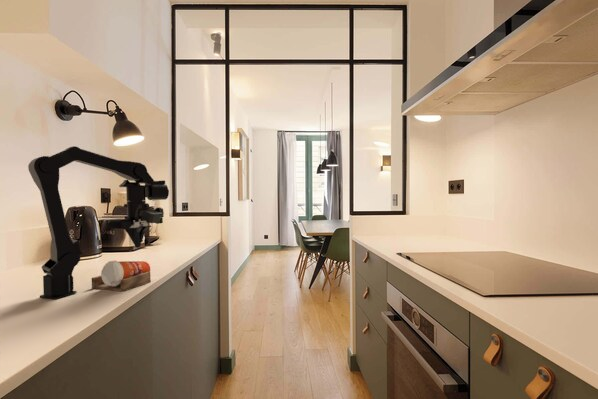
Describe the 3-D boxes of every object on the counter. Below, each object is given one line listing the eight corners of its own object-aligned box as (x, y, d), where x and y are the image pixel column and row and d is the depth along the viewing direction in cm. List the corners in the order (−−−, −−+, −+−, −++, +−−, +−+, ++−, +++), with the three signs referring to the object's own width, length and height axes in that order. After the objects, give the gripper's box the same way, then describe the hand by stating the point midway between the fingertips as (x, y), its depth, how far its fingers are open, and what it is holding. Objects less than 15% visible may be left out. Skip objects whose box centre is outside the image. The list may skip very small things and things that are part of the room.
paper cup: (156, 274, 116) (123, 278, 103) (139, 285, 117) (105, 291, 104) (147, 253, 118) (113, 255, 105) (130, 265, 119) (96, 268, 106)
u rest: (124, 291, 103) (123, 280, 103) (91, 288, 107) (91, 277, 107) (150, 281, 114) (150, 272, 114) (120, 279, 118) (120, 270, 118)
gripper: (134, 201, 105) (136, 253, 106) (174, 199, 123) (176, 243, 123) (105, 201, 109) (107, 251, 109) (148, 200, 126) (150, 243, 127)
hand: (137, 247), depth 117 cm, fingers closed
